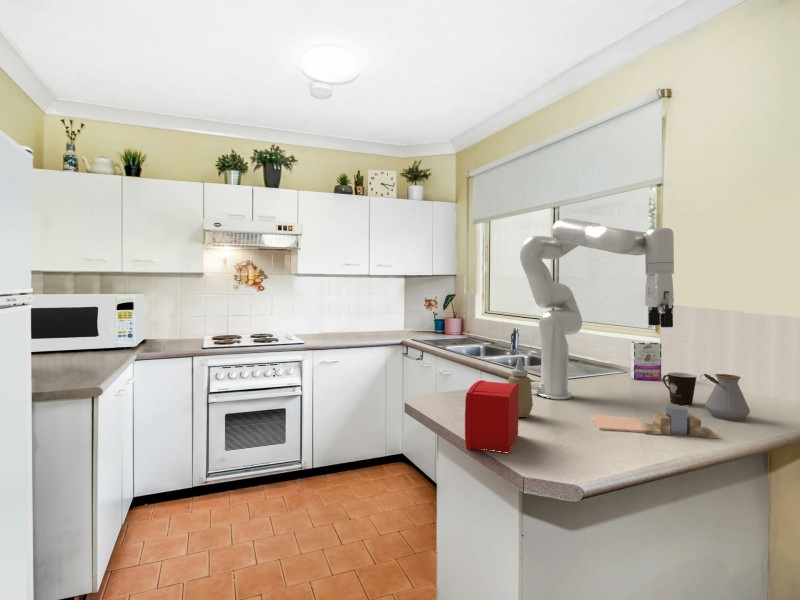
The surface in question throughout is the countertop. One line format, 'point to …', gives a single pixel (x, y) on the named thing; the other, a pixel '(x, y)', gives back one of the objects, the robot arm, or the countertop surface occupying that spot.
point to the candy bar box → (646, 361)
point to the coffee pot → (726, 398)
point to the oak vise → (663, 423)
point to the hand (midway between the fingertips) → (660, 326)
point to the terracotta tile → (617, 423)
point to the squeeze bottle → (522, 388)
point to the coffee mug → (681, 387)
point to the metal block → (677, 419)
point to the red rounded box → (491, 416)
